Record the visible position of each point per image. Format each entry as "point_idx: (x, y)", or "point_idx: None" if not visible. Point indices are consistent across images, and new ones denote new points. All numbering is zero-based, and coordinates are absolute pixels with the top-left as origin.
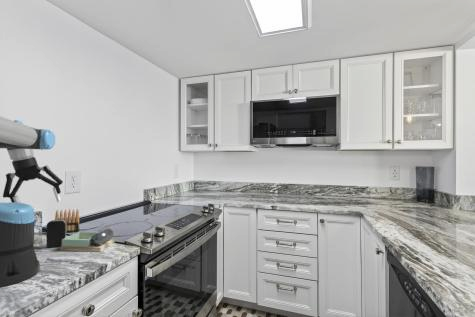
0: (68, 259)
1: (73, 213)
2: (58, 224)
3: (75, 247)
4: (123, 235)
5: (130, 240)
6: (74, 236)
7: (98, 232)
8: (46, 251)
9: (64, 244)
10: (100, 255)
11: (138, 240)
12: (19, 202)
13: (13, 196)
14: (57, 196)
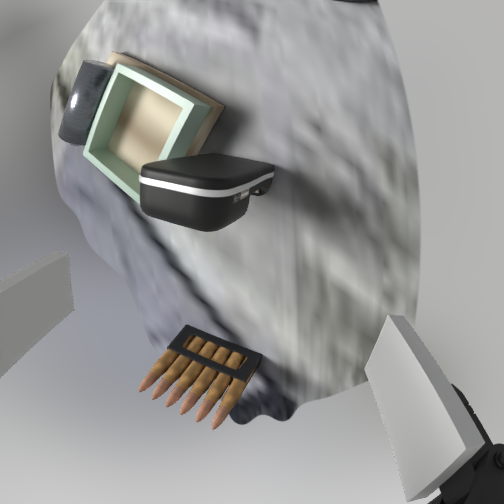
0: (196, 8)
1: (162, 383)
2: (173, 165)
3: (168, 78)
4: (73, 193)
5: None
6: None
7: (92, 155)
8: (270, 122)
9: (196, 99)
10: (124, 23)
11: (52, 124)
12: (398, 413)
13: (473, 466)
14: (20, 270)
